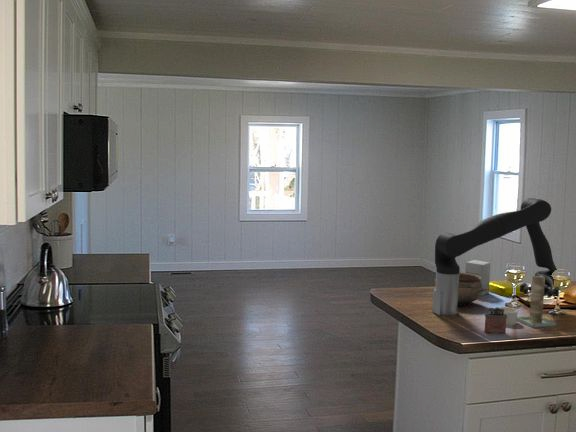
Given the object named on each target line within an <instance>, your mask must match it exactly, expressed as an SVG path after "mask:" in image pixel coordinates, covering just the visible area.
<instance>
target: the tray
mask: <svg viewBox="0 0 576 432" xmlns="http://www.w3.org/2000/svg"><path fill="white" fill-rule="evenodd" d="M529 320H530V315H526V316H525V315H524V316H517V323H520V324H523V325H525V326H528V327H529V328H532V329H537V328H541V329H542V328H553V327H554V328H555V327H558V323H557V322H555V321H553V320H550V319H548V318H546V317H543V316H542V323H540V324H535V323H531V322H529Z"/></svg>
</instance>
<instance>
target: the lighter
mask: <svg viewBox="0 0 576 432" xmlns="http://www.w3.org/2000/svg"><path fill="white" fill-rule="evenodd" d="M498 307H499V306H498ZM498 307H495V308H494V307H488V308H487V312H488V313H485V314H484V317H485V319H484V331H483V333H484V334H487V335H506V334H507V333H506V331H507V330H506V329H507V325H506V318H507V315H506V314H503V313H504V309H499V308H498Z"/></svg>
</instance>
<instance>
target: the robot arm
mask: <svg viewBox="0 0 576 432" xmlns="http://www.w3.org/2000/svg"><path fill="white" fill-rule="evenodd" d="M551 212H552V207H551V204H550V203H549V202H547V201H546V200H544V199H539V198H533V197H530V198H529V197H528V198H526V199H524V200H523V201H522V203H521V205H520V210H519V209H518V210H515V211H507V212H503V213H497V214H494V215H492V216H491V215H490V217H489V216H488V217H487V218H484V219H483V220H481V221H479V223H478V224H476V225H475V227H473V228H472V229H470V230H468V231H465V232H462V233H458V234H453V233H450V232H442V233H440V234H439V235H438V237H436V240H435V245H434V264H435V267H436V274H435V279H436V282H435V287H434V289H433V291H432V306H431V308H432V309H431V312H432V313H433V314H436V315H438V316H442V315H444V316H455V315H458V306H459V305H458V289H459V273H460V271H461V269H460V268H461V267H460V265H459V264H458V263H457V260H456V258H458V257H460V256H462V255H463V254H465V253H468V252H469V251H471V250H472V249H474V248H476V247H479V246H481V245H484V244H486V243H488V242H491V241H494V240H497V239H499V238H501V237H504V236H506V235H508V234H510V233H512V232H515V231H517V230H519V229H522V228H524V227H525V228H526V231H527V233H528V235H529V236H528V237H529V238H530V242H531V246H532V249H533V255H534V261H535V265H536V266H537V267H539V268H545V269H546V270H539V271H536V272H535V273H534V276H542V277H545V286H544V297H546V296H547V298H551V297H553V296H555V297H559V293H560V287H559V286H555V287H554V286H553V285H554V279H553V277H552V276H551V275H552V273H553V272H554V271H555V270H558V268H557V267H556V265H555V261H554V260H553V259H554V258H553V253H552V248H551V246H550V245H551V244H550V242H549V240H548V239H547V237H546V235H545V234H544V232H543V229H542V227H541V224H540V222H543V221H545V220H547V218H549V217H550V215H551V214H552V213H551ZM547 269H548V270H547ZM520 284H521V285H520V292H523V293H525V294H527V293H528V294H531V290H532V283H531V284H528V285H527V283H526V282H523V283H520Z"/></svg>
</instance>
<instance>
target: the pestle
mask: <svg viewBox="0 0 576 432" xmlns="http://www.w3.org/2000/svg"><path fill="white" fill-rule="evenodd" d="M531 284H532V290H531V293H530V308H529V316H530V320H529V322H531V323H535V324H540V323H542V317H543V314H544V313H543V312H544V311H543V310H544V300H545V299H544V297H545V296H544V286H545V277H542V276H535V275H532V279H531Z"/></svg>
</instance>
